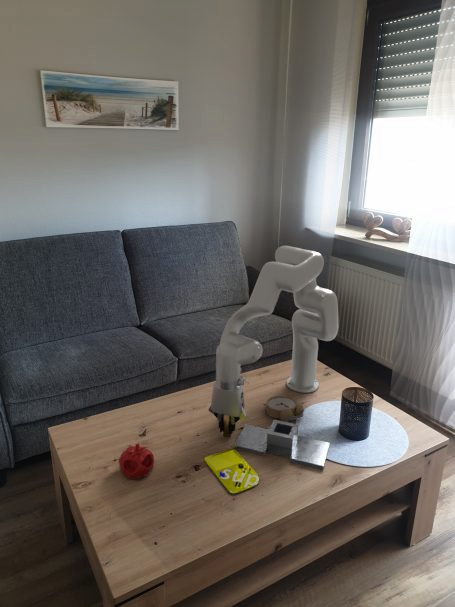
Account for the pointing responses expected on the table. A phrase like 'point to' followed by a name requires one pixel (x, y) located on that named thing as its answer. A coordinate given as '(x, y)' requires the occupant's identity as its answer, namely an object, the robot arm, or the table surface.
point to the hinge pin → (226, 425)
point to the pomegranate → (136, 461)
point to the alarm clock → (284, 408)
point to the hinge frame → (283, 444)
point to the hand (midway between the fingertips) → (226, 430)
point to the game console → (232, 471)
